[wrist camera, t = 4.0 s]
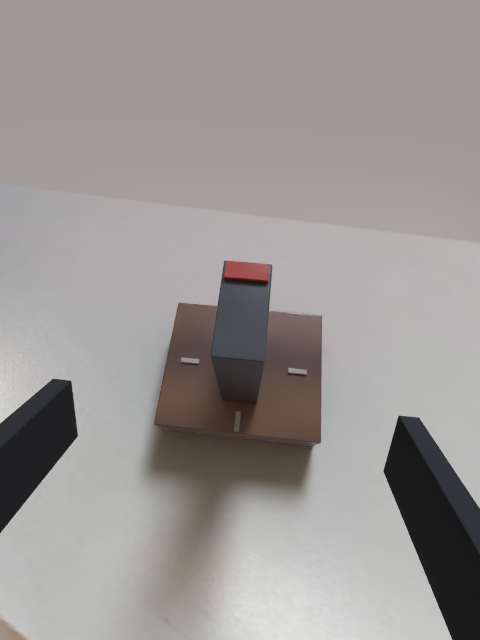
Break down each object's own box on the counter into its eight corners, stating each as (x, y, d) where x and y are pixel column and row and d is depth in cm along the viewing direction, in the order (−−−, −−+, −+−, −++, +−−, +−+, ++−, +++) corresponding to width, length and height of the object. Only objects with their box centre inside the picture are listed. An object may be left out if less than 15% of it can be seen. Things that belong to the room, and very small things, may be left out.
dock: (313, 446, 27) (321, 443, 24) (162, 429, 27) (152, 424, 24) (315, 329, 31) (322, 314, 28) (183, 317, 32) (178, 301, 29)
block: (257, 403, 25) (264, 360, 16) (222, 400, 25) (209, 355, 16) (262, 334, 27) (272, 261, 18) (230, 331, 28) (224, 257, 18)
